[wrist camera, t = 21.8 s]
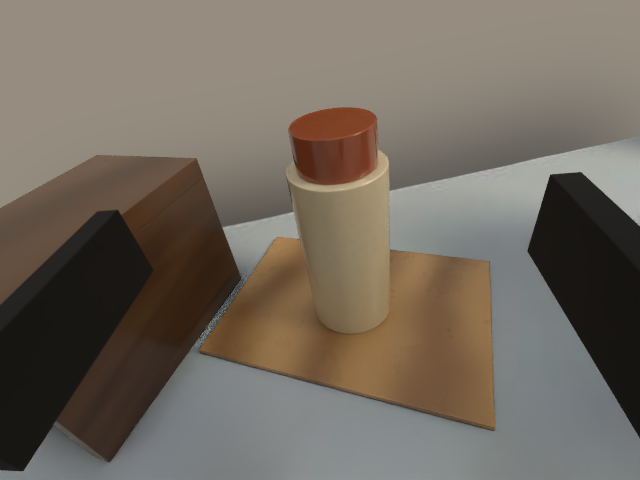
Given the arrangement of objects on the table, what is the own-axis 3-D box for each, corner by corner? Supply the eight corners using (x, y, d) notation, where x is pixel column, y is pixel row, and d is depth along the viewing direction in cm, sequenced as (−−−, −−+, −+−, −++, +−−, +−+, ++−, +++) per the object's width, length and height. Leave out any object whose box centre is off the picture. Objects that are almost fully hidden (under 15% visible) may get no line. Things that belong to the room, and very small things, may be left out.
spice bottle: (396, 282, 29) (397, 102, 20) (381, 342, 24) (374, 146, 15) (328, 272, 31) (301, 104, 22) (303, 325, 26) (257, 144, 18)
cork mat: (488, 264, 29) (489, 261, 29) (493, 431, 19) (495, 427, 19) (278, 239, 36) (277, 236, 36) (200, 353, 26) (198, 349, 26)
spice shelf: (241, 277, 32) (196, 158, 25) (109, 462, 21) (-46, 341, 13) (157, 263, 36) (96, 154, 28) (4, 416, 24) (-165, 298, 17)
